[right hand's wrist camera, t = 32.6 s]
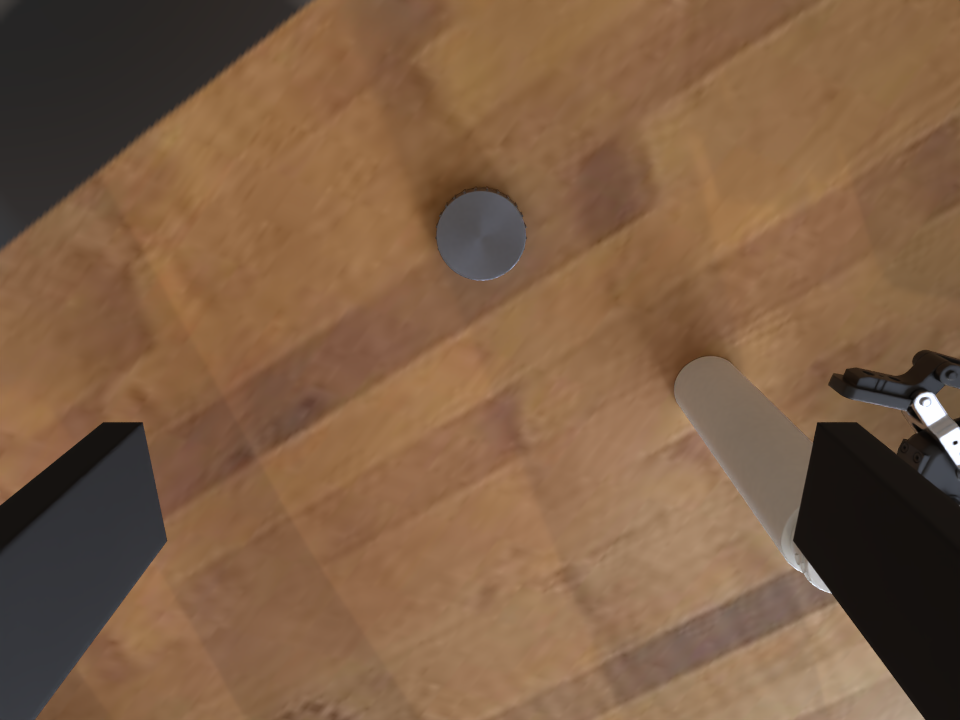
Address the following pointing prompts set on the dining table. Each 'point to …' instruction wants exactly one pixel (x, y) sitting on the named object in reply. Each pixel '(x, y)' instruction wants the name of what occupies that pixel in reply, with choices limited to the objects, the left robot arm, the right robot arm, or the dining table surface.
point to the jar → (751, 448)
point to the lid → (481, 234)
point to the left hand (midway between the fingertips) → (807, 449)
